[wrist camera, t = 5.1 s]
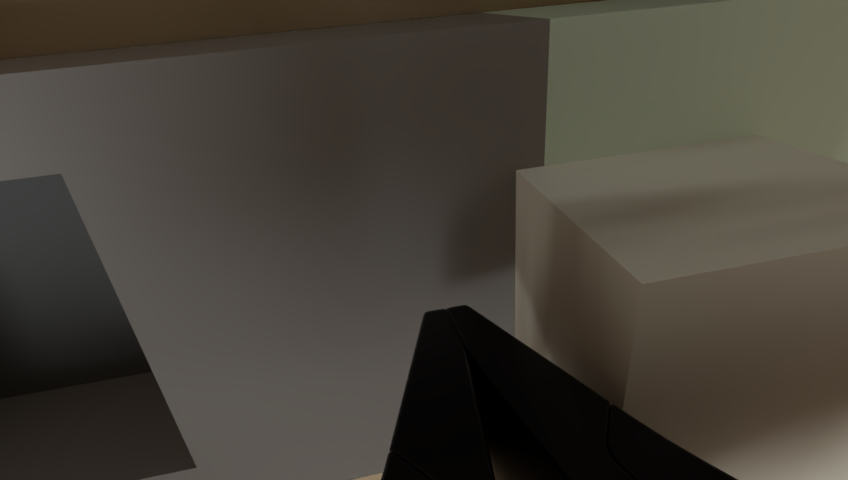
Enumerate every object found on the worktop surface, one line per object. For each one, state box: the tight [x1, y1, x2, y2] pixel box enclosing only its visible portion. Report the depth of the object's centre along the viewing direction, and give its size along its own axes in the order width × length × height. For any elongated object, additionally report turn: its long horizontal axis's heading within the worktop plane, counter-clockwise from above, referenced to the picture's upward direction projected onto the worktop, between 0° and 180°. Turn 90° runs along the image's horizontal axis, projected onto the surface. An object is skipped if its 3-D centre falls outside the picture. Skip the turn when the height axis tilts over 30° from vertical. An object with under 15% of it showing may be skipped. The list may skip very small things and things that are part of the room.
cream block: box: [515, 135, 848, 480], centre depth 8 cm, size 5×5×4 cm
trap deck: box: [0, 0, 848, 480], centre depth 12 cm, size 10×34×4 cm, turn 95°
